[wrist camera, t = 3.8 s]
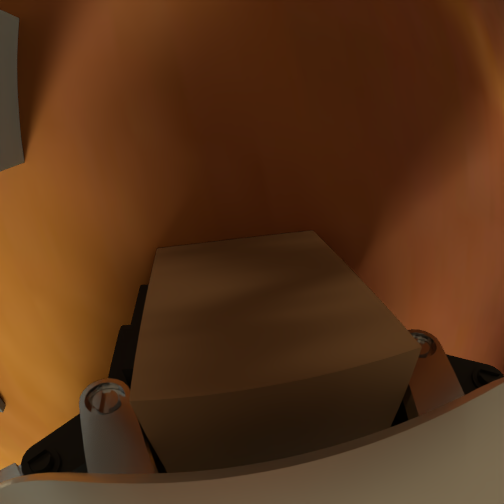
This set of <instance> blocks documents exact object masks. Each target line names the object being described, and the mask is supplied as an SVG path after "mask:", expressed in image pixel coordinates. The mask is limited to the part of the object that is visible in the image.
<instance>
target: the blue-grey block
mask: <svg viewBox="0 0 504 504" xmlns="http://www.w3.org/2000/svg"><path fill="white" fill-rule="evenodd" d="M18 29H19V18H18V17H15V16H13V15H11V14H9V13H7V12H5V11H2V10H0V171H3V170H5V169H8V168H11V167H13V166H16V165H19V164H21V163H24V155H23V148H22V140H21V131H20V120H19V107H18V86H17V48H18Z"/></svg>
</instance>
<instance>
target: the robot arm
mask: <svg viewBox="0 0 504 504" xmlns="http://www.w3.org/2000/svg"><path fill="white" fill-rule="evenodd" d="M148 286H149V284H147V285H141V286H140V289H139V293H138V297H137V301H136V305H135V309H134V314H133V318H132V322H131V325H122V326H121V328H120V331H119V334H118V338H117V342H116V346H115V350H114V355H113V359H112V363H111V367H110V372H109V376H108V378H107V379H101V380H98V381H95V382H93V383H92V384H90V385H89V386H87V388H86V389H85V390H84V391H83V392H82V394H81V396H80V401H79V408H80V414H78V415H77V416H75V417H74V418H73V419H71V420H70V421H68V422H67V423H65V424H64V425H62V426H61V427H60V428H58V429H57V430H55V431H54V432H52V433H51V434H49V435H48V436H46V437H45V438H43V439H42V440H41V441H39V442H38V443H36V444H35V445H33V446H32V447H31V448H29V449H28V450H27V451H26V453H25V454H24V456H23V459H22V462H21V465H19V466H18V465H17V464H16V463H13V464H11V465H10V466H8V467H6V468H4V469H2V470H0V504H504V376H503V374H502V373H501V372H500V371H499V370H498V369H496V368H495V367H493V366H490V365H487V364H483V363H479V362H475V361H470V360H466V359H462V358H458V357H454V356H450V355H447V354H445V352H444V350H443V348H442V346H441V344H440V342H439V341H438V339H437V338H436V337H435V336H433V335H432V334H430V333H428V332H426V331H422V330H414V329H411V330H408V331H409V332H410V334H411V335H412V336H413V337H414V338H415V339H416V340H417V342H418V343H419V344H420V345H421V346H422V348H421V351H420V354H419V357H418V360H417V363H416V365H415V368H414V371H413V374H412V376H411V379H410V382H409V384H408V387H407V389H406V392H405V394H404V397H403V399H402V402H401V404H400V406H399V409H398V411H397V413H396V416H395V418H394V420H393V422H392V424H391V427H390V428H388V429H385V430H382V431H379V432H376V433H373V434H371V435H368V436H365V437H362V438H359V439H355V440H352V441H349V442H346V443H342V444H339V445H336V446H332V447H328V448H325V449H321V450H317V451H313V452H309V453H305V454H301V455H297V456H292V457H288V458H283V459H278V460H273V461H268V462H262V463H256V464H250V465H244V466H237V467H230V468H223V469H214V470H204V471H193V472H179V473H168V472H167V470H166V469H165V467H164V465H163V464H162V462H161V460H160V459H159V457H158V455H157V453H156V452H155V450H154V448H153V446H152V445H151V443H150V441H149V439H148V437H147V436H146V434H145V432H144V430H143V428H142V426H141V424H140V422H139V420H138V418H137V416H136V414H135V412H134V410H133V408H132V406H131V404H130V402H129V396H130V389H131V382H132V375H133V368H134V362H135V355H136V349H137V343H138V338H139V332H140V326H141V321H142V316H143V310H144V305H145V300H146V295H147V291H148Z"/></svg>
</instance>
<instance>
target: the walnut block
mask: <svg viewBox="0 0 504 504" xmlns="http://www.w3.org/2000/svg"><path fill="white" fill-rule="evenodd" d="M421 348H422V346H421V345H420V344H419V343H418V342H417V340H416V339H415V338H414V337H413V336H412V335H411V334H410V332H409V331H408V330H407V329H406V328H405V327H404V326H403V325H402V323H401V322H400V321H399V320H398V319H397V318H396V317H395V316H394V315H393V314H392V312H391V311H390V310H389V309H388V308H387V307H386V306H385V305H384V304H383V303H382V301H381V300H380V299H379V298H378V297H377V296H376V295H375V294H374V293H373V292H372V291H371V290H370V289H369V287H368V286H367V285H366V284H365V283H364V282H363V281H362V280H361V279H360V278H359V277H358V276H357V275H356V274H355V273H354V272H353V271H352V270H351V269H350V267H349V266H348V265H347V264H346V263H345V262H344V261H343V260H342V259H341V258H340V257H339V256H338V255H337V254H336V253H335V252H334V251H333V250H332V249H331V248H330V247H329V246H328V245H327V244H326V243H325V242H324V241H323V240H322V239H321V238H320V237H319V236H318V235H317V234H316V233H315V232H314V231H313V230H311V231H302V232H293V233H284V234H275V235H266V236H257V237H248V238H239V239H231V240H222V241H214V242H205V243H197V244H189V245H180V246H172V247H164V248H157V250H156V255H155V259H154V263H153V268H152V272H151V277H150V281H149V286H148V291H147V295H146V300H145V305H144V310H143V316H142V321H141V326H140V332H139V338H138V343H137V349H136V355H135V362H134V368H133V375H132V382H131V389H130V396H129V402H130V404H131V406H132V408H133V410H134V412H135V414H136V416H137V418H138V420H139V422H140V424H141V426H142V428H143V430H144V432H145V434H146V436H147V437H148V439H149V441H150V443H151V445H152V446H153V448H154V450H155V452H156V453H157V455H158V457H159V459H160V460H161V462H162V464H163V465H164V467H165V469H166V470H167V472H168V473H179V472H193V471H204V470H214V469H223V468H230V467H237V466H244V465H250V464H256V463H262V462H268V461H273V460H278V459H283V458H288V457H292V456H297V455H301V454H305V453H309V452H313V451H317V450H321V449H325V448H328V447H332V446H336V445H339V444H342V443H346V442H349V441H352V440H355V439H359V438H362V437H365V436H368V435H371V434H373V433H376V432H379V431H382V430H385V429H388V428H390V427H391V424H392V422H393V420H394V418H395V416H396V413H397V411H398V409H399V406H400V404H401V402H402V399H403V397H404V394H405V392H406V389H407V387H408V384H409V382H410V379H411V376H412V374H413V371H414V368H415V365H416V363H417V360H418V357H419V354H420V351H421Z"/></svg>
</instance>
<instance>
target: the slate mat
mask: <svg viewBox="0 0 504 504" xmlns="http://www.w3.org/2000/svg"><path fill="white" fill-rule="evenodd" d="M5 406H6V405H5V404H4V402H3V401H2V400H1V398H0V412H3V411H4V409H5Z"/></svg>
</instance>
